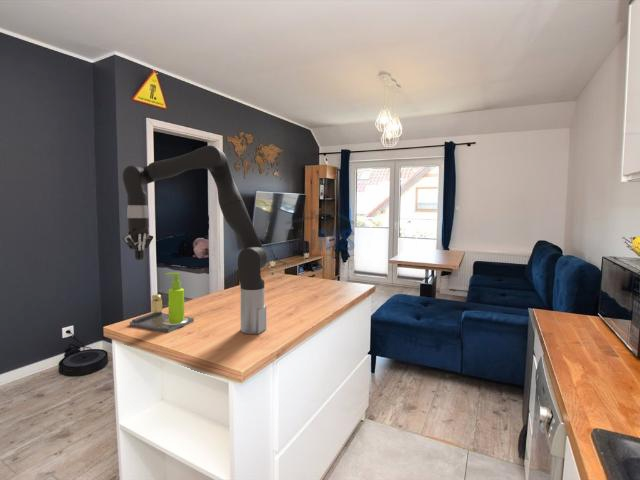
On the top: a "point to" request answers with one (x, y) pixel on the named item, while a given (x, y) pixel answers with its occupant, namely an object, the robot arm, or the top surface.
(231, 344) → the top surface
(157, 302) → the press lever
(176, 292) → the soap dispenser
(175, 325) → the plate
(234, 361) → the top surface
